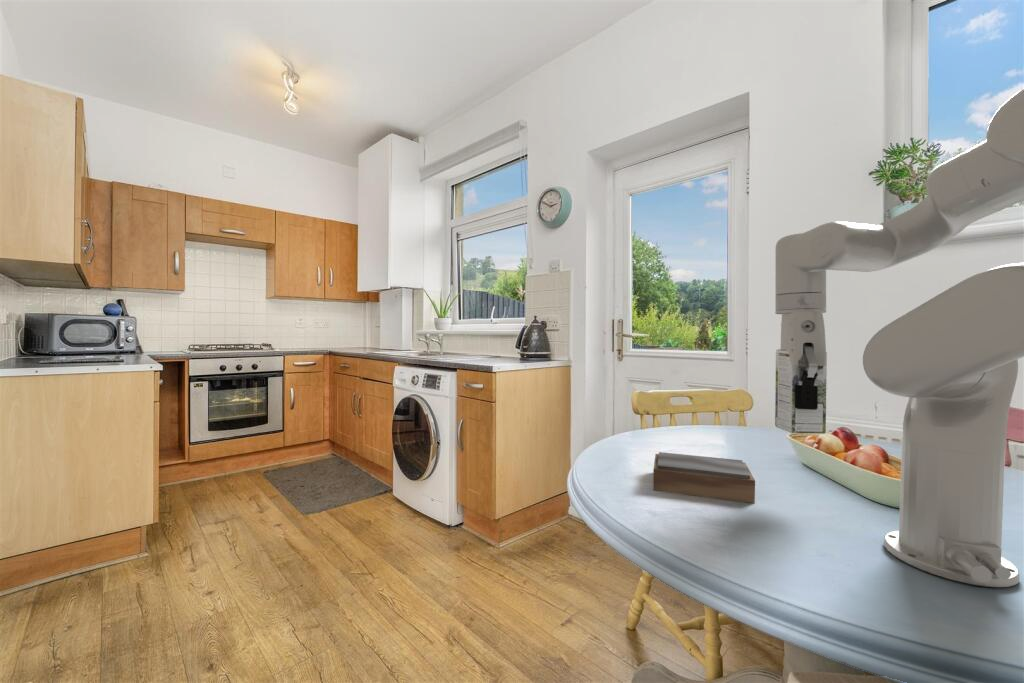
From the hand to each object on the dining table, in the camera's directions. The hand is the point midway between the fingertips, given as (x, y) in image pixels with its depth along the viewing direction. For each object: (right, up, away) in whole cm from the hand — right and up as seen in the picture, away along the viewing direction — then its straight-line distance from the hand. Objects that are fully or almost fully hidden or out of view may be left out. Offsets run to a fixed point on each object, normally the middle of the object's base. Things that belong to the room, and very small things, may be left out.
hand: (799, 405), depth 77 cm
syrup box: (0, -5, 0) cm, 5 cm away
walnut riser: (-15, -17, +7) cm, 23 cm away
